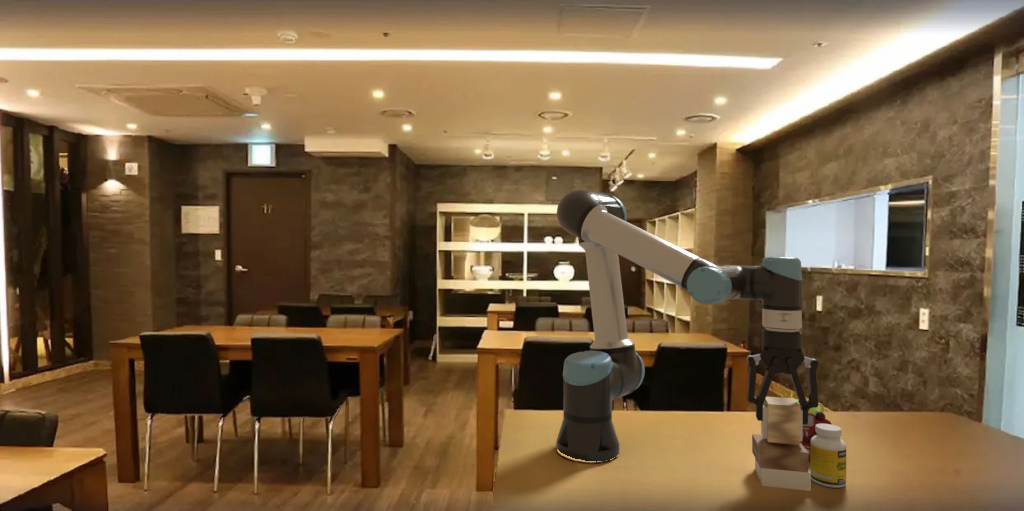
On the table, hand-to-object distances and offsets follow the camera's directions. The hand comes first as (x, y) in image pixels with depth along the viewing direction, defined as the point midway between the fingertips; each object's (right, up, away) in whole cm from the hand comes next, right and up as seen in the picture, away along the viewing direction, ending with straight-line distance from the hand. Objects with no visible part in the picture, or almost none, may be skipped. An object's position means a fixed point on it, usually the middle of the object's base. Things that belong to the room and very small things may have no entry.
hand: (781, 437), depth 112 cm
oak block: (0, 0, 0) cm, 0 cm away
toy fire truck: (+13, -9, +13) cm, 21 cm away
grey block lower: (0, -9, 0) cm, 9 cm away
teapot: (+22, -9, +32) cm, 40 cm away
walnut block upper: (-1, -5, 0) cm, 5 cm away
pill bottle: (+9, -9, -2) cm, 13 cm away
